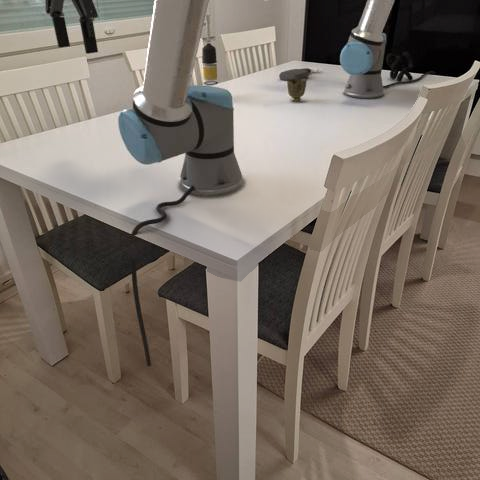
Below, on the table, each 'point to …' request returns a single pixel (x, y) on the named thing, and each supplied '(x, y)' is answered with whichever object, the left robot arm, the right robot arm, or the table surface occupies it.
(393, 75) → the squiggle
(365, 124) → the table surface
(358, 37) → the right robot arm
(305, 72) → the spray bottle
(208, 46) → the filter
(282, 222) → the table surface
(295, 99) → the cup
